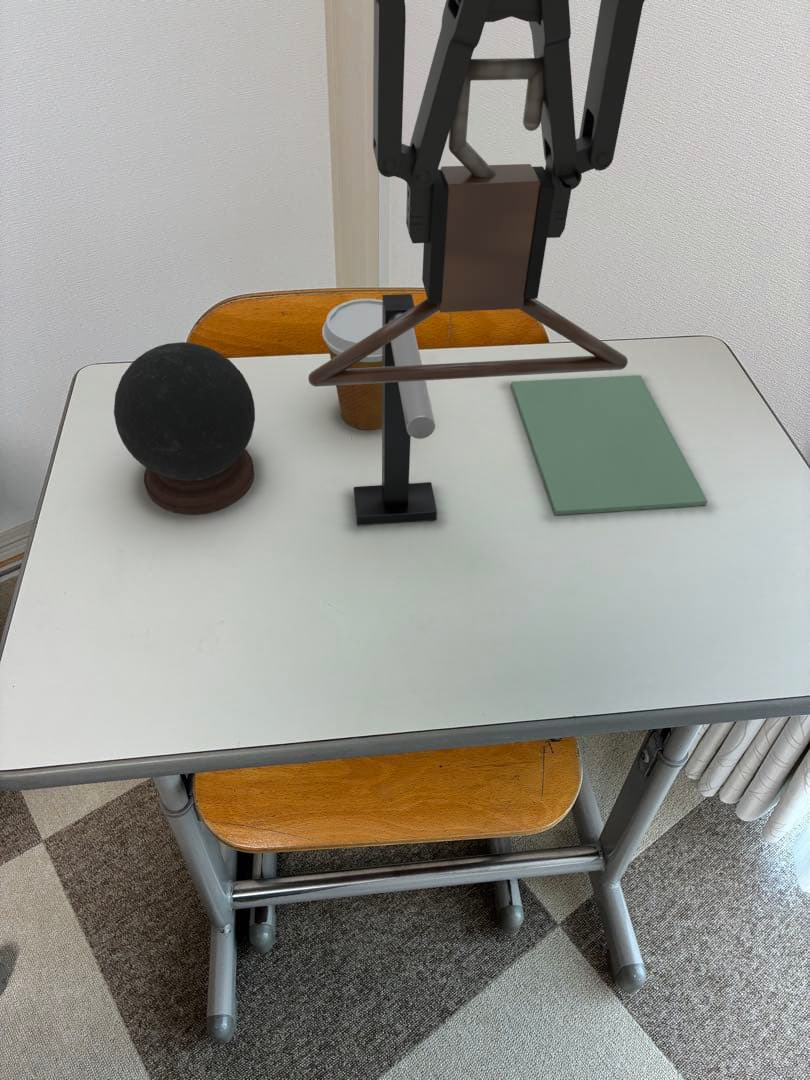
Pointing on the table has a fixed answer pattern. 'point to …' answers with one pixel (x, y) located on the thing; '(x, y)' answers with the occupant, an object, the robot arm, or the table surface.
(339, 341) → the disposable coffee cup
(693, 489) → the mat
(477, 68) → the hanger
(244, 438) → the black ball on stand
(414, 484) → the black and grey stand
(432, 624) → the table surface
